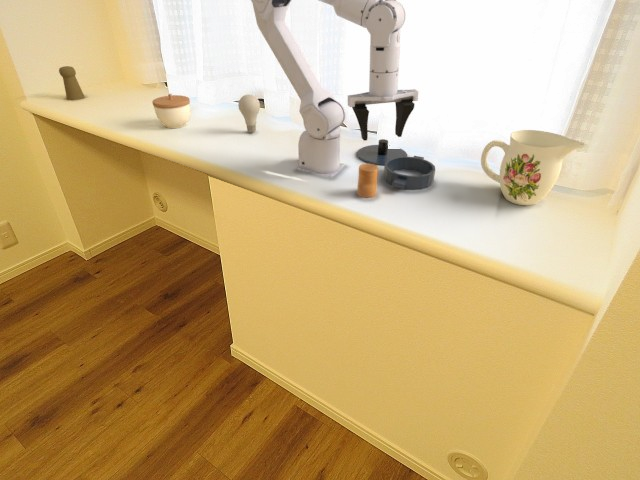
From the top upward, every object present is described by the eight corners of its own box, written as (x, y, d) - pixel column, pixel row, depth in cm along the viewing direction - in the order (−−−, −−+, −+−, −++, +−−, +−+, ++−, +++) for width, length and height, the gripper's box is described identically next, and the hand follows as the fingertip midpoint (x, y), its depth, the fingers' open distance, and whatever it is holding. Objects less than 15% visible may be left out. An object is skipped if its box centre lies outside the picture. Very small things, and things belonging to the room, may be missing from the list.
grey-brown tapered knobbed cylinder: (88, 97, 153) (78, 66, 147) (72, 100, 149) (62, 69, 143) (78, 95, 156) (69, 64, 150) (63, 98, 151) (52, 67, 145)
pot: (372, 190, 90) (373, 175, 87) (395, 163, 102) (397, 149, 100) (422, 201, 85) (424, 185, 83) (440, 172, 98) (442, 157, 96)
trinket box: (157, 132, 121) (150, 100, 115) (157, 121, 129) (151, 91, 124) (194, 128, 123) (189, 97, 118) (192, 118, 132) (187, 88, 127)
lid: (349, 161, 103) (350, 144, 100) (367, 145, 112) (368, 129, 110) (398, 171, 98) (400, 153, 95) (412, 153, 108) (415, 137, 105)
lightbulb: (248, 137, 117) (244, 98, 111) (237, 132, 121) (233, 94, 115) (266, 133, 120) (263, 95, 114) (255, 127, 124) (251, 90, 118)
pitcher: (483, 176, 96) (498, 118, 88) (567, 199, 86) (591, 137, 78) (465, 193, 88) (479, 132, 81) (554, 220, 79) (579, 153, 71)
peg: (354, 197, 87) (356, 169, 83) (361, 189, 90) (363, 162, 86) (371, 201, 85) (374, 172, 82) (378, 193, 88) (381, 165, 85)
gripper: (353, 77, 76) (353, 146, 83) (426, 70, 78) (420, 139, 85) (344, 70, 82) (345, 136, 89) (413, 65, 84) (408, 129, 91)
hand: (381, 137), depth 88 cm, fingers open, 7 cm apart
